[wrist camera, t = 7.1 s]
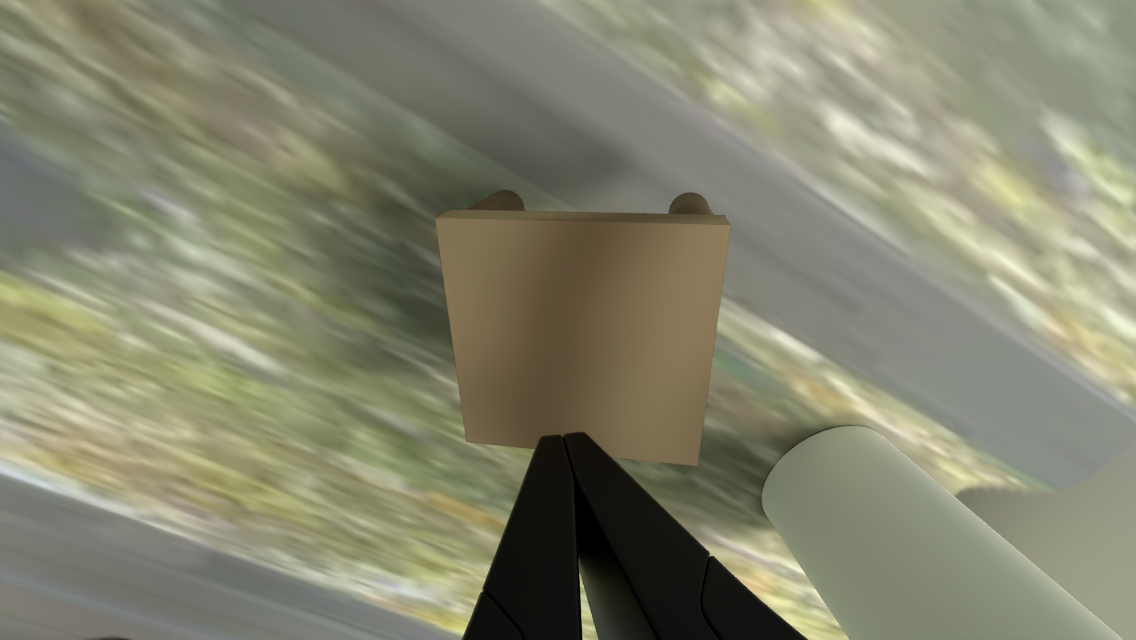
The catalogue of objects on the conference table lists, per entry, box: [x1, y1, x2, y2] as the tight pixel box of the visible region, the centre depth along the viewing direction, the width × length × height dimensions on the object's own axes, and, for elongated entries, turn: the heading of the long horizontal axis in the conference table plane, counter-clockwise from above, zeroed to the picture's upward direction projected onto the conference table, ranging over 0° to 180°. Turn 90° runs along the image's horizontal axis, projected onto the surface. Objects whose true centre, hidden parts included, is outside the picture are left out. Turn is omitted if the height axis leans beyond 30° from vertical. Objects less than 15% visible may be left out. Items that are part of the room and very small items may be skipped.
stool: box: [435, 190, 731, 466], centre depth 14 cm, size 7×7×4 cm
